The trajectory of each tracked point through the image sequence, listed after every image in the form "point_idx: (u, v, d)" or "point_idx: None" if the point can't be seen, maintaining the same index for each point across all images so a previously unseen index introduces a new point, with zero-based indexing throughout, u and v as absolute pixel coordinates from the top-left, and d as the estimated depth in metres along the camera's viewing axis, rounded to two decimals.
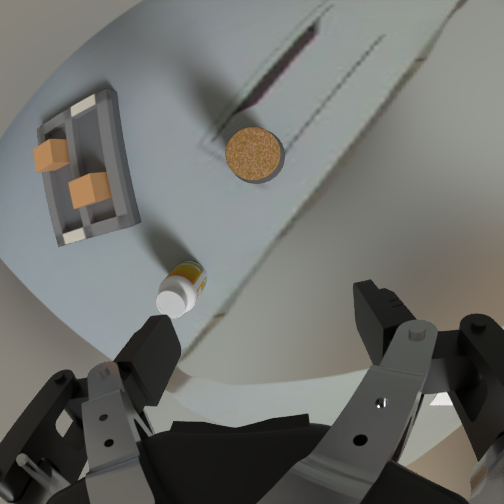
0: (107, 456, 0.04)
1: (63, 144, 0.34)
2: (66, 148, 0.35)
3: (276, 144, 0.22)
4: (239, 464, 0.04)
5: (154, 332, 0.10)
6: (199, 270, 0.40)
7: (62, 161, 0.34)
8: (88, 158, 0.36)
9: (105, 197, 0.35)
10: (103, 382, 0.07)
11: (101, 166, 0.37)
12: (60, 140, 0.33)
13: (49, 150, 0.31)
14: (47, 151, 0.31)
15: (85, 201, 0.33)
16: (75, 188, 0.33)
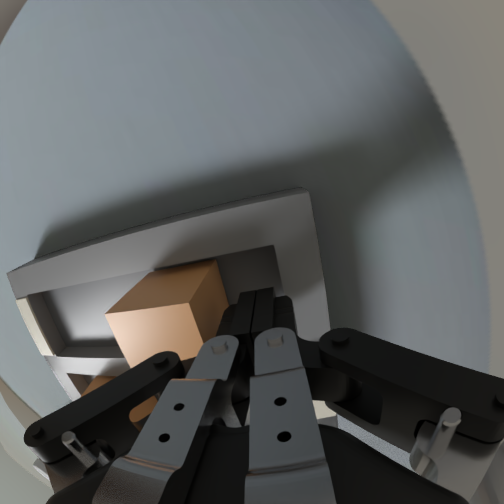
0: (152, 450, 0.04)
1: None
2: None
3: None
4: (239, 464, 0.04)
5: (254, 306, 0.11)
6: None
7: None
8: None
9: None
10: (229, 356, 0.07)
11: None
12: None
13: None
14: None
15: None
16: None
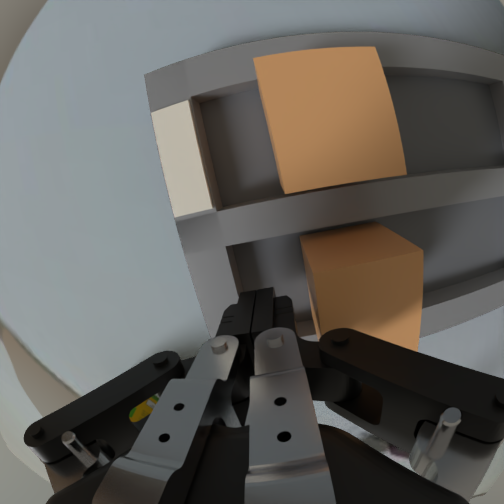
0: (152, 450, 0.04)
1: None
2: None
3: None
4: (239, 464, 0.04)
5: (254, 306, 0.11)
6: None
7: None
8: (423, 227, 0.13)
9: None
10: (229, 356, 0.07)
11: None
12: None
13: (351, 168, 0.08)
14: (352, 150, 0.07)
15: None
16: (393, 289, 0.09)
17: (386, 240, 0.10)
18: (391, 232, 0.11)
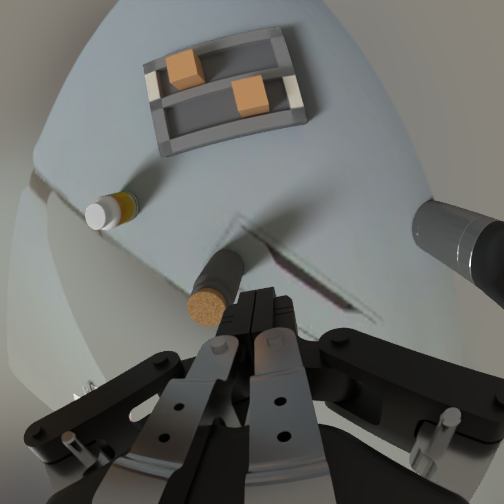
0: (152, 450, 0.04)
1: (197, 82, 0.34)
2: (193, 85, 0.35)
3: (214, 324, 0.32)
4: (239, 464, 0.04)
5: (254, 306, 0.11)
6: (131, 218, 0.43)
7: (176, 86, 0.34)
8: (232, 97, 0.36)
9: (241, 114, 0.35)
10: (229, 356, 0.07)
11: (222, 115, 0.37)
12: (200, 79, 0.34)
13: (183, 75, 0.31)
14: (184, 72, 0.31)
15: (238, 98, 0.32)
16: (253, 84, 0.31)
17: None
18: None
